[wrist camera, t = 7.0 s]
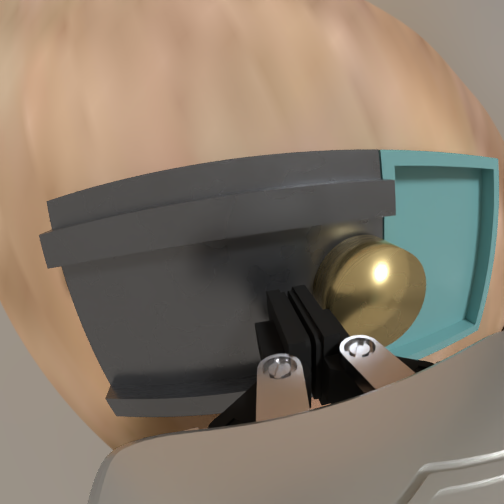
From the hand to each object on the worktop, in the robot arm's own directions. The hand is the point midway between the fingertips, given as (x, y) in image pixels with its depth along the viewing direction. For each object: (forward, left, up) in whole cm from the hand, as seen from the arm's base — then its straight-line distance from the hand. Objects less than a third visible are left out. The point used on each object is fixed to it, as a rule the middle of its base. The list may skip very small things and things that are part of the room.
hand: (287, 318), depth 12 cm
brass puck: (-4, 0, -1) cm, 4 cm away
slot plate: (+3, 0, -3) cm, 4 cm away
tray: (-12, 0, -3) cm, 12 cm away
